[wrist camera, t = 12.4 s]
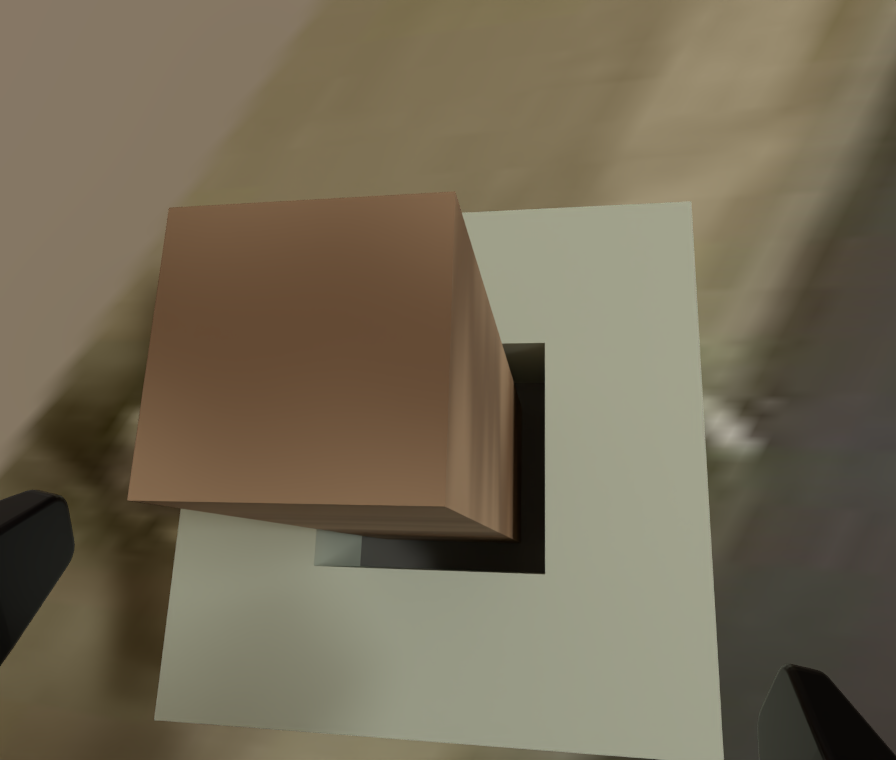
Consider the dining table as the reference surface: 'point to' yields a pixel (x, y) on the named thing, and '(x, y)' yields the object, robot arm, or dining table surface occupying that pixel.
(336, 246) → the walnut peg
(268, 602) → the socket block
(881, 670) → the dining table surface
